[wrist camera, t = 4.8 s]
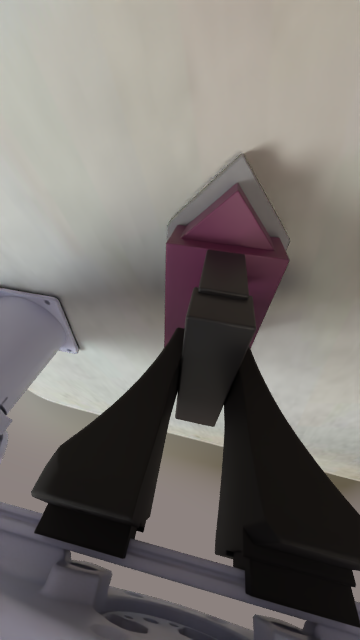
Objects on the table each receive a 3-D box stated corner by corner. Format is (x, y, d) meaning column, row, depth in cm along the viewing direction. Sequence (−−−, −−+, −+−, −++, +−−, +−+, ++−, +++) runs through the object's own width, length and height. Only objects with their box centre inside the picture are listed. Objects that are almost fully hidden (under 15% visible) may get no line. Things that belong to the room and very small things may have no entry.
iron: (247, 332, 18) (254, 442, 12) (168, 319, 19) (134, 416, 12) (315, 159, 10) (460, 208, 4) (173, 147, 11) (85, 168, 4)
